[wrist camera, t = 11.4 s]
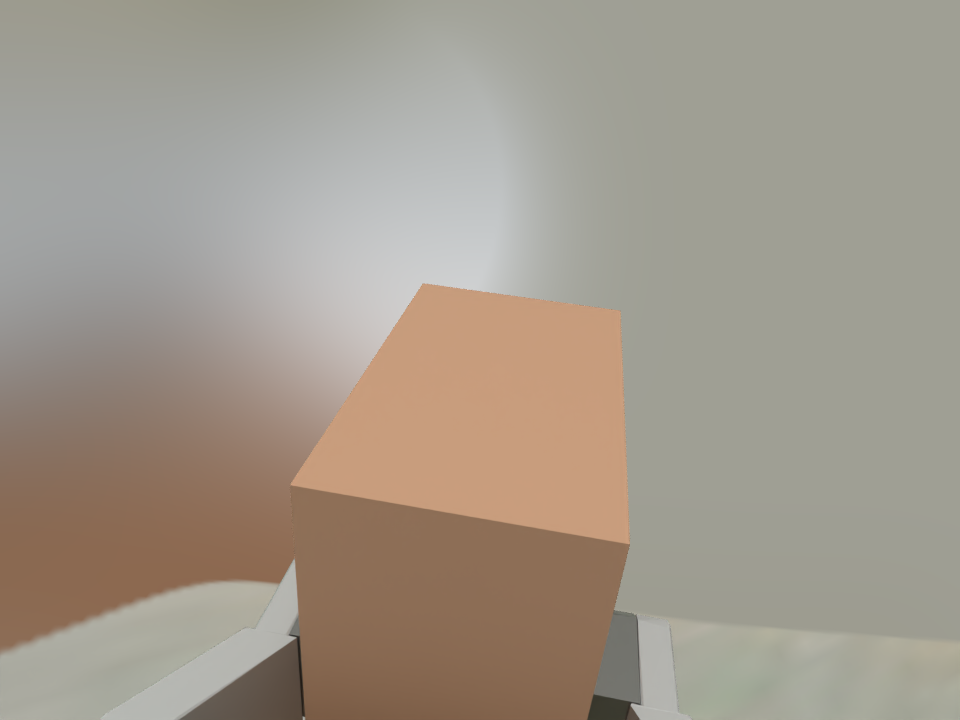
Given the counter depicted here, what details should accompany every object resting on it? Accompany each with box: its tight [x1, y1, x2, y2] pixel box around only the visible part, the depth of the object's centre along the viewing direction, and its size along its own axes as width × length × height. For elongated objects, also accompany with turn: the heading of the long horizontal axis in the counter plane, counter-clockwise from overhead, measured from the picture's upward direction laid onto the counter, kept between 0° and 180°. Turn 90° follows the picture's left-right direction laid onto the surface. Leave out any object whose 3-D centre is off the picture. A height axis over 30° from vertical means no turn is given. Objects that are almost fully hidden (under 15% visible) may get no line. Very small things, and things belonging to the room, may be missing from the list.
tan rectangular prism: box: [290, 284, 630, 720], centre depth 11 cm, size 3×5×12 cm, turn 171°
